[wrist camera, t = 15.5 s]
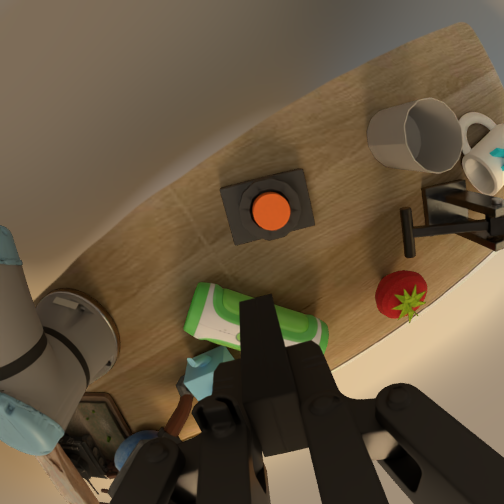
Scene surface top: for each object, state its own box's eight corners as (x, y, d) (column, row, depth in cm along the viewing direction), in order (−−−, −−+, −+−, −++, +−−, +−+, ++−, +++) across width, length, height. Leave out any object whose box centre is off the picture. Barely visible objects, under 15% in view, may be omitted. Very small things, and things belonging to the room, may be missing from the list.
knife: (230, 394, 47) (146, 519, 37) (224, 390, 49) (143, 512, 39) (185, 371, 44) (100, 505, 34) (181, 366, 46) (99, 497, 36)
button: (257, 230, 36) (258, 234, 35) (248, 196, 35) (249, 198, 33) (290, 221, 36) (293, 225, 34) (282, 187, 35) (285, 189, 33)
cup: (421, 116, 37) (464, 110, 27) (416, 173, 39) (459, 179, 29) (368, 102, 36) (405, 88, 26) (363, 162, 38) (400, 164, 29)
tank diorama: (15, 389, 47) (-9, 421, 36) (110, 392, 47) (91, 436, 36) (74, 470, 55) (62, 501, 45) (162, 479, 55) (156, 516, 45)
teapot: (176, 339, 44) (167, 370, 37) (212, 322, 43) (208, 353, 36) (218, 394, 47) (216, 427, 40) (252, 380, 47) (255, 413, 39)
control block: (235, 241, 40) (235, 250, 37) (220, 188, 38) (218, 191, 35) (311, 221, 40) (319, 228, 36) (299, 168, 38) (306, 169, 34)
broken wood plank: (13, 402, 48) (-3, 408, 43) (22, 378, 45) (3, 385, 40) (90, 508, 42) (75, 519, 37) (110, 501, 38) (93, 514, 34)
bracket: (426, 234, 42) (485, 264, 28) (421, 187, 40) (484, 203, 26) (464, 223, 41) (524, 247, 28) (460, 179, 39) (524, 191, 26)
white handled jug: (546, 144, 28) (512, 187, 30) (518, 160, 37) (482, 200, 38) (498, 80, 30) (457, 115, 31) (476, 105, 39) (436, 139, 40)
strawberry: (410, 285, 44) (445, 313, 34) (368, 307, 44) (397, 342, 35) (401, 251, 42) (439, 275, 32) (357, 274, 43) (387, 304, 33)
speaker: (186, 315, 43) (178, 344, 36) (202, 269, 41) (195, 292, 34) (300, 350, 46) (310, 381, 38) (322, 309, 44) (337, 337, 37)
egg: (165, 406, 49) (97, 446, 41) (195, 444, 44) (124, 487, 37) (173, 417, 55) (113, 453, 48) (199, 451, 51) (138, 489, 43)
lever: (404, 252, 37) (404, 260, 35) (399, 206, 35) (399, 211, 33) (504, 242, 30) (509, 249, 28) (503, 195, 28) (509, 200, 26)
